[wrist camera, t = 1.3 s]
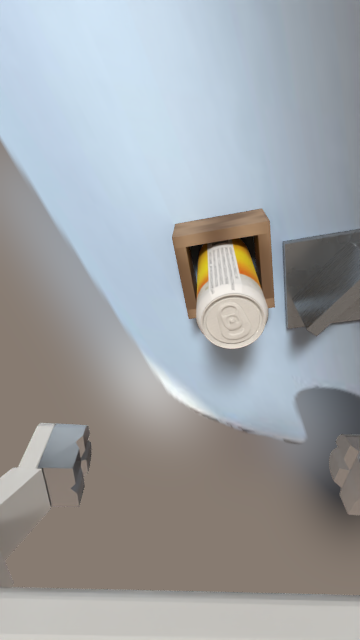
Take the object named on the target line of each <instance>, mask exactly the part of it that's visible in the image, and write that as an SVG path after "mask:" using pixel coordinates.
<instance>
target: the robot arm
mask: <svg viewBox="0 0 360 640" xmlns="http://www.w3.org/2000/svg"><path fill="white" fill-rule="evenodd" d="M89 434H90V432H89V426H87V425H70V424H52V423H40V424H39V425H38V426H37V427H36V430H35V432H34V434H33V436H32V438H31V440H30V443H29V445H28V447H27V450H26V451H25V453H24V456H23V458H22V460H21V462H20V464H19V466H18V468H12V469H11V470H9V471H8V472H7V473H6V474H4V475H3V476H2V477H1V478H0V640H360V595H327V594H285V593H283V594H282V593H242V592H198V591H197V592H194V591H154V590H111V589H109V590H108V589H67V588H23V587H12V586H13V580H12V578H11V575H10V572H9V570H8V567H7V565H6V562H5V560H6V559H7V558H8V557H9V555H10V554H11V553H12V552H13V551H14V550H15V549H16V548H17V546H18V545H19V544H20V543H21V542H22V541H23V540H24V539H25V537H26V536H27V535H28V534H29V533H30V532H31V531H32V529H33V528H34V527H35V526H36V525H37V524H38V523H39V522H40V520H41V519H42V518H43V517H44V516H45V515H46V514H47V512H48V511H49V510H50V509H51V507H79V506H80V501H81V498H82V494H83V490H84V478H83V477H84V476H85V475H86V474H87V473H88V471H89V467H90V461H91V442H89V441H88V438H89ZM336 444H337V446H338V447H337V448H336V449H334V450H333V451H332V452H331V455H330V458H329V467H330V472H331V475H332V478H333V480H334V482H336V483H337V484H338V485H339V486H340V487H341V491H340V497H341V499H342V501H343V504H344V506H345V508H346V511H347V513H348V515H360V435H348V434H341V435H340V436H338V438H337V441H336Z"/></svg>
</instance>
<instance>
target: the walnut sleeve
mask: <svg viewBox="0 0 360 640" xmlns="http://www.w3.org/2000/svg"><path fill="white" fill-rule="evenodd" d="M248 236H253V239H254V251H255V263H256V274H257V277H258V280H259V283H260V286H261V289H262V292H263V295H264V297H265V300H266V303H267V307H268V308H272V307H275V304H274V287H273V269H272V252H271V235H270V221H269V219H268V217H267V216H266V214H265V213H264V211H263V209H257V210H251V211H246V212H240V213H235V214H229V215H223V216H218V217H212V218H207V219H201V220H195V221H190V222H184V223H179V224H175V227H174V232H173V236H172V240H173V245H174V250H175V254H176V259H177V264H178V269H179V274H180V279H181V283H182V288H183V293H184V298H185V303H186V307H187V312H188V317H189V319H192V318H196V305H197V282H196V276H195V271H194V266H193V260H192V255H191V249H190V246H194V245H200V244H206V243H212V242H218V241H224V240H230V239H236V238H242V237H248Z"/></svg>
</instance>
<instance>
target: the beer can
mask: <svg viewBox="0 0 360 640" xmlns="http://www.w3.org/2000/svg"><path fill="white" fill-rule="evenodd" d="M196 319H197V324H198V326H199V328H200V330H201V332H202V333H203V334H204V335H205V337H206V338H207V339H208V340H209V341H210V342H211V343H213V344H215V345H216V346H219V347H222V348H227V349H237V348H242V347H245V346H247V345H249V344H251V343H253V342H254V341H255V340H256V339H258V337H259V336H260V335H261V334H262V332H263V330H264V327H265V325H266V322H267V319H268V307H267V303H266V300H265V297H264V295H263V292H262V289H261V286H260V283H259V280H258V277H257V274H256V271H255V268H254V265H253V262H252V259H251V256H250V253H249V250H248V248H247V246H246V244H245V243H244V242H243V241H242V240H241V239H239V238H236V239H230V240H224V241H218V242H212V243H206V244H203V246H202V247H201V249H200V251H199V255H198V271H197V305H196Z"/></svg>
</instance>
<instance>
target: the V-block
mask: <svg viewBox="0 0 360 640" xmlns="http://www.w3.org/2000/svg"><path fill="white" fill-rule="evenodd" d="M283 256H284V281H285V306H286V325H287V328H288V329H290V328H298V327H305V328H306V329H307V330H308V331H310V332H311V333H312V334H314V335H315V336H317V335H319V334H320V333H321V332H322V331H323V330H324V329H325V328H326V327H327V326H329V325H330V324H331V323H337V322H345V321H353V320H360V229H356V230H350V231H344V232H338V233H332V234H326V235H320V236H313V237H307V238H301V239H295V240H289V241H283Z"/></svg>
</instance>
